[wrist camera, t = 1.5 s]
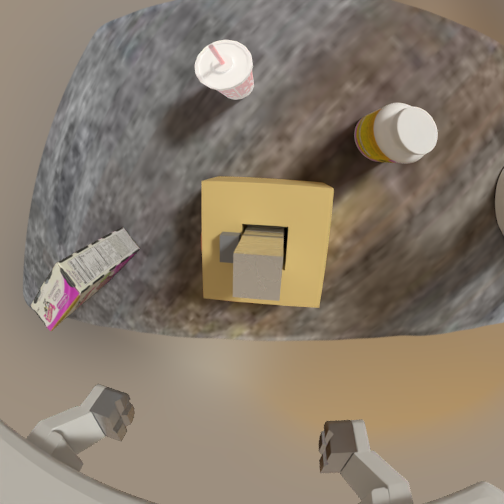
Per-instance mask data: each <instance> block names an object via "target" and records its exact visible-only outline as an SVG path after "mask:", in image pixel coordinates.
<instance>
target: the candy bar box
mask: <svg viewBox="0 0 504 504" xmlns="http://www.w3.org/2000/svg"><path fill="white" fill-rule="evenodd" d="M139 250H140V248H139V246H138V245H137V244H136V243H135V242H134V240H133V239H132V238H131V237H130V235H129V234H128V233H127V231H126V230H125V229H124V227H122V228H120V229H118V230H116V231H114V232H112V233H110V234H108V235H106V236H104V237H102V238H100V239H98V240H97V241H95V242H93V243H91V244H89V245H87V246H86V247H84V248H82V249H80V250H78V251H77V252H75V253H73V254H72V255H70V256H68V257H66V258H65V259H63V260H61V261H59V262H57V263H56V264H55V266H54V267H53V269H52V271H51V272H50V274H49V275H48V277H47V278H46V280H45V282H44V283H43V285H42V287H41V288H40V290H39V292H38V294H37V295H36V297H35V299H34V301H33V303H32V305H31V307H32V308H33V309H34V311H35V312H36V313H37V315H38V316H39V318H40V319H41V320H42V321H43V322H44V324H45V326H46V327H47V328H48V329H49V330H50V331H52V330H53V329H54V328H55V327H56V326H58V325H59V324H60V323H61V322H62V321H63V320H64V319H65V318H67V317H68V316H69V315H70V314H71V313H72V312H73V311H75V310H76V309H77V308H78V307H79V306H80V305H81V304H82V303H84V302H85V301H86V300H87V299H88V298H90V297H91V296H92V295H93V294H94V293H95V292H97V291H98V290H99V289H100V288H101V287H103V286H104V285H105V284H106V283H107V282H108V281H109V280H110V279H111V278H112V277H113V276H114V275H115V274H116V273H117V272H118V271H119V270H120V269H121V268H122V267H123V266H124V265H125V264H126V263H127V262H128V261H129V260H130V259H131V258H132V257H133V256H134V255H135V254H136V253H137V252H138V251H139Z"/></svg>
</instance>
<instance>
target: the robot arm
mask: <svg viewBox="0 0 504 504" xmlns="http://www.w3.org/2000/svg"><path fill="white" fill-rule="evenodd" d="M495 212H496V218H497V222H498V225H499V228H500V230H501V231H502V233H503V235H504V169H503V170H502V172H501V174H500V177H499V179H498V183H497V187H496V194H495ZM129 400H130V397H129V395H128V394H127V393H124V392H120V391H118V390H114V389H112V388H109V387H106V386H103V385H100V384H97V385H95V387H94V388H93V389H92V391H91V392H90V393H89V395H88V396H87V397H86V399H85V400H84V402H83V403H82V404H81V406H80V407H79V406H76V407H74V408H71V409H69V410H66V411H64V412H62V413H59V414H57V415H54V416H52V417H50V418H47V419H44V420H42V421H39V423H38V424H37V425H36V427H35V428H34V429H33V430H32V432H31V433H30V435H29V436H28V437H27V439H25V438H24V437H23V436H21V435H20V434H19V433H17V432H16V431H15V430H13V429H12V428H11V427H10V426H8V425H7V424H6V423H4V422H3V421H2V420H1V419H0V504H157V503H154V502H151V501H148V500H145V499H142V498H139V497H136V496H133V495H131V494H128V493H125V492H123V491H120V490H118V489H115V488H113V487H111V486H108V485H106V484H104V483H102V482H99V481H97V480H95V479H93V478H91V477H89V476H87V475H85V474H83V473H81V472H79V471H80V469H81V468H82V465H83V462H82V461H81V459H80V458H79V457H78V456H77V454H78V453H80V452H82V451H83V450H85V449H87V448H88V447H90V446H92V445H93V444H94V443H96V442H98V441H100V440H101V439H103V438H104V437H105V436H107V437H110V438H113V439H116V440H118V441H122V439H123V438H124V436H125V434H126V432H127V429H126V426H128V425H130V424H131V423H132V421H133V418H134V407H133V405H132V404H131V403H130V402H129ZM319 452H320V453H321V454H322V456H321V458H320V460H319V462H320V473H339V472H340V474H341V475H342V477H343V478H344V479H345V480H346V482H347V483H348V484H349V485H350V487H351V488H352V489H353V490H354V491H355V493H356V494H357V495H358V497H359V498H360V499H361V500H362V501H361V502H360V503H359V504H413V500H412V495H411V490H410V486H409V482H408V481H407V480H406V479H405V478H404V477H403V476H401V475H400V474H399V473H398V472H397V471H396V470H395V469H393V468H392V467H391V466H390V465H389V464H388V463H387V462H386V461H385V460H383V459H382V458H381V457H380V456H379V455H378V454H377V453H376V452H375V451H370V446H369V441H368V436H367V432H366V427H365V423H364V421H363V420H342V421H327V422H325V425H324V431H322V432H321V435H320V440H319ZM425 504H504V492H503V491H502V490H500V489H499V488H497V487H495V486H493V485H492V484H490V483H488V482H486V481H481V482H478V483H476V484H473V485H471V486H469V487H467V488H464V489H462V490H460V491H457V492H455V493H452V494H450V495H447V496H444V497H442V498H439V499H436V500H433V501H430V502H427V503H425Z"/></svg>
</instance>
